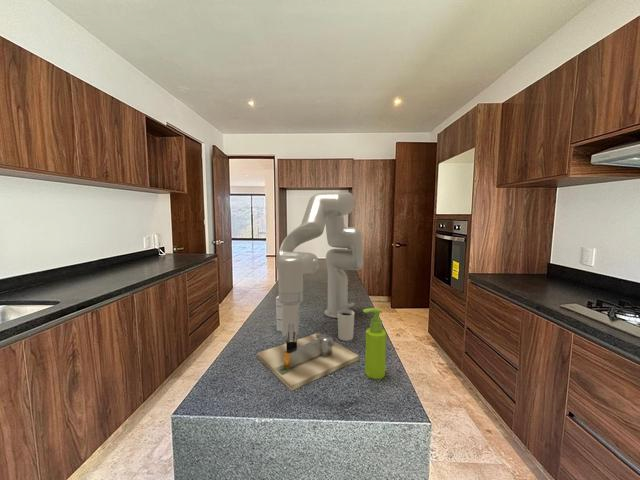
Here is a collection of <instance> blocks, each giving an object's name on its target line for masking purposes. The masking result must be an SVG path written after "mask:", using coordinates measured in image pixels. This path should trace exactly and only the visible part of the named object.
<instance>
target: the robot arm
mask: <svg viewBox="0 0 640 480" xmlns="http://www.w3.org/2000/svg"><path fill="white" fill-rule="evenodd" d="M307 203H308V204H307V206H306V208H305V212H304V213H303V214H304V215H303V218H302V221H301V224H300V225H299V226H298V227H296V228H295V229H293V230H292V231H291V232H290V233H289V234H287V236H286V237H285V238H284V239H283V240H282V242H281V245H280V246H279V250H278V253H277V255H276V260H275V267H276V269H277V277H278V279H277V281H278V282H277V283H278V284H277V285H278V287H277V288H278V296H279V303H281V304H282V332H281V336H282V337H283V338H285V337H286V342H285V344H286V343H287V351H289V350H291V349H294V348H297V340H298V339H297V336H299V329H300V328H299V327H300V304H301V303H303V302H304V278H305V277H310V276H311V277H312V276H313V275H314V274H316V273H317V271H318V270H319V267H320V260H319V258H318V256H317V255H316V254H315V253H312V252H301V251H294V250H295V249H296V248H298V247H299V246H300V245H302V244H305V243H307V242H309V241H312V240H314V239H317V238H319V237H321V236H322V235H323V234H324V231H325V233H326V240H327V245H328V246H329V247H331V248H330V249H329V250H327V252H326V255H325V262H326V268H327V269H326V270H327V307H326V309H325V310H324V315H325V316H327V317H329V318H331V319H332V318H333V319H338V313H337V312H338V311H339V310H343V309H347V310H350V308H354V307H355V303H354V302H351V303H350V302H348V298H349V297H348V292H349V291H348V290H349V289H348V288H349V287H348V286H349V285H348V283H349V281H348V280H349V278H348V275H347V273H346V272H345V270H351V271H358V270H361V269H362V268H363V266H364V265H363V264H364V251H363V235H362V232H361V230H360V229H359V228H358V227H355V226H352V227H349V226H345V217H344V216H347V215H350V213H352V211H353V210H354V208H355V197H354V195H353V194H352V193H351V192H345V191H344V192H320V193H317V194H314V195H312V196H311V197H310V198H309V200H308V202H307Z"/></svg>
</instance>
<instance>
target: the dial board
mask: <svg viewBox="0 0 640 480" xmlns="http://www.w3.org/2000/svg"><path fill="white" fill-rule="evenodd" d="M316 334H320V335H322V334H323V333H321V332H317V333H313V334H311V335H310V334H309V335H307V336H304V337H300V338H299V339H297V347H299V346H302V345H305V344H307V343H310V342H312V341H315V340H317V338H316ZM332 341H334V340H333V339H332ZM334 342H335V343H334V346H332V354H331V355H330V356H320V355H318V356H315V357H313V358H311V359H308V360H306V361H304V362H301V363H299V364H297V365H295V366H292V367H290V368H289V369H285V368H284V352H285V351H287V343H286V342H285V343H283V344H280V345H278V346H274V347H271V348H268V349H265V350H262V351H259V352H257V353H256V358H257V359H258V360H259V361H260V362H261V363H262V364H263V365H264V366H265V367H266V368H267V369H268V370H270V372H271V373H272V374H274V375H275V376H276V378H278V380H280V381H281V382H282V384H284V385H285V386H286V387H287V388H288V389H289V390H290V391H291V392H293V391H294V390H297V389H298V388H301V387H303V386H306V385H307V384H309V383H311V382H314V381H316V380H319V379H321V378H323V377H324V376H327V375H329V374H332V373H334V372H335V371H337V370H340V369H342V368H344V367H347V366H349V365H352V364H354V363H356V362H358V361H360V355H359V354H357V353H355V352H353V351H351V350H350V349H348V348H347V347H345V346H343V345H341V344H339V343H338V342H336V341H334Z"/></svg>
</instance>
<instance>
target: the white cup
mask: <svg viewBox="0 0 640 480" xmlns="http://www.w3.org/2000/svg"><path fill="white" fill-rule="evenodd" d="M337 313H338V318H337V328H338V329H337V332H338V333H337V335H338V339H339V340H341V341H347V342H348V341H352V340H353V339H354V327H355V311H354V310H352V309H349V310H347V309H343V310H339V311H338V312H337Z"/></svg>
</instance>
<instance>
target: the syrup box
mask: <svg viewBox="0 0 640 480" xmlns="http://www.w3.org/2000/svg"><path fill="white" fill-rule="evenodd" d="M275 308H276V309H275V310H276V311H275V315H276V316H275V317H276V331H277V332H281V333H282V304H281V303H279V295H277V296H276V297H275Z"/></svg>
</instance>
